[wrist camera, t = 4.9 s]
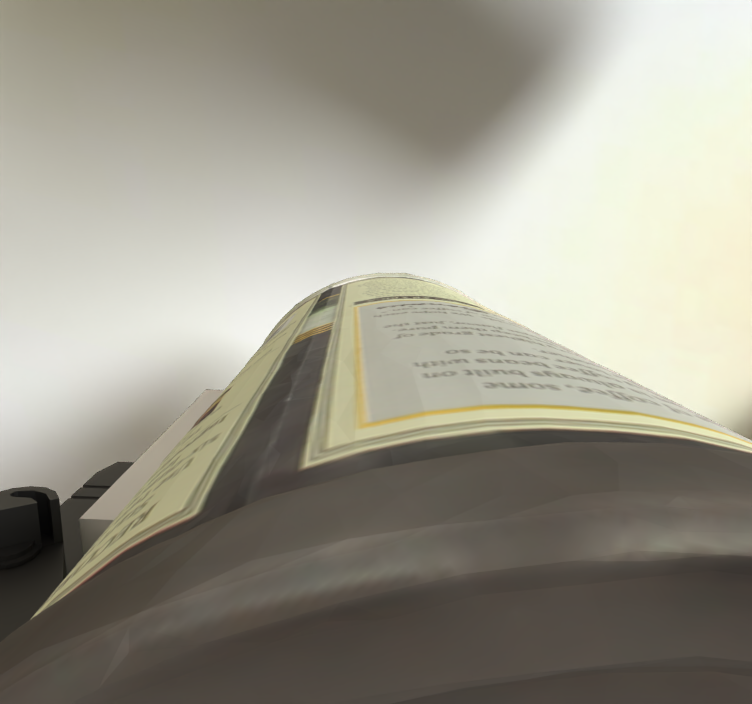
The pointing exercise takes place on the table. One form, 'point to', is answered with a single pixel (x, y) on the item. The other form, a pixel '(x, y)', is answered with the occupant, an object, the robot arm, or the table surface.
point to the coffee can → (414, 531)
